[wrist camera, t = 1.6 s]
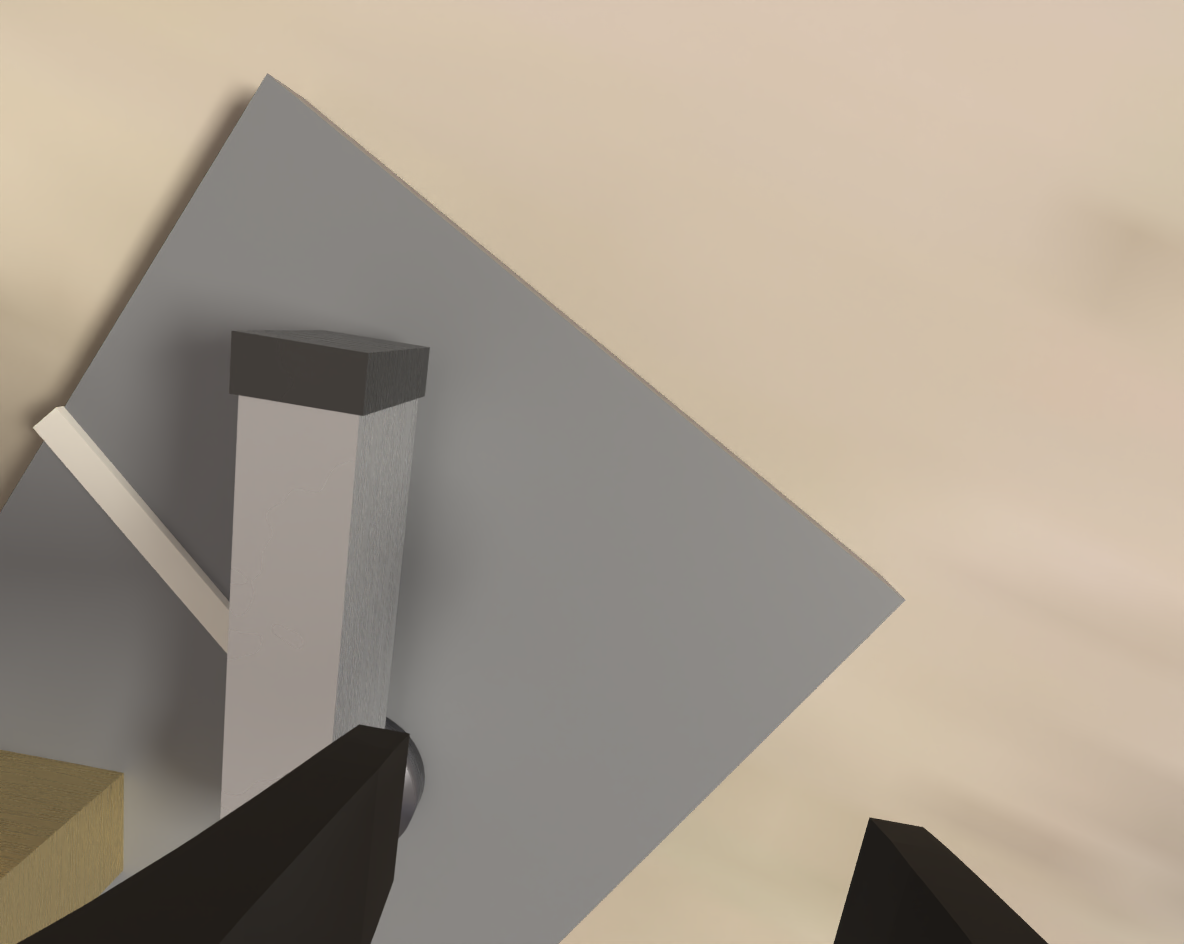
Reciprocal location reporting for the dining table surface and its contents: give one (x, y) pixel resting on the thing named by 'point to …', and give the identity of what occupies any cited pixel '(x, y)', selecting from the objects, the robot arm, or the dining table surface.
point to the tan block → (55, 839)
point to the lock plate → (417, 552)
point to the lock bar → (313, 543)
